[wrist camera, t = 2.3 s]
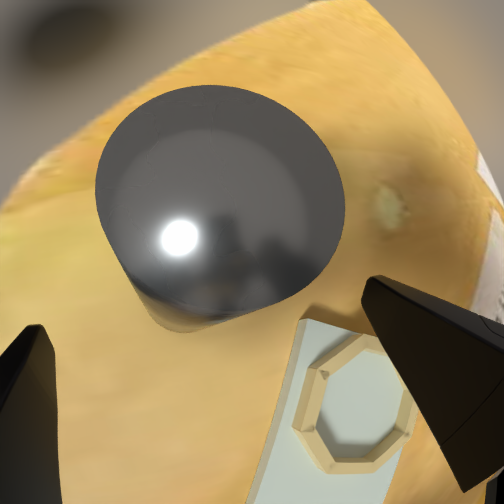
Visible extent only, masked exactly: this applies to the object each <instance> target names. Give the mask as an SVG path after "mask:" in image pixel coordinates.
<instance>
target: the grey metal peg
mask: <svg viewBox="0 0 504 504" xmlns="http://www.w3.org/2000/svg"><path fill="white" fill-rule="evenodd" d="M95 196H96V205H97V211H98V215H99V218H100V222H101V225H102V228H103V230H104V232H105V234H106V237H107V239H108V241H109V243H110V245H111V247H112V249H113V251H114V253H115V255H116V256H117V258H118V260H119V262H120V264H121V266H122V268H123V270H124V271H125V273H126V275H127V277H128V279H129V280H130V282H131V284H132V286H133V287H134V289H135V291H136V293H137V294H138V296H139V298H140V299H141V301H142V303H143V305H144V306H145V308H146V310H147V311H148V313H149V314H150V316H151V317H152V318H153V319H154V320H155V321H156V322H157V323H158V324H159V325H160V326H162V327H164V328H165V329H168V330H170V331H174V332H179V333H189V332H194V331H198V330H201V329H204V328H207V327H210V326H213V325H216V324H219V323H222V322H225V321H228V320H231V319H233V318H236V317H239V316H242V315H245V314H248V313H250V312H253V311H256V310H259V309H262V308H264V307H267V306H270V305H272V304H275V303H278V302H280V301H282V300H284V299H286V298H288V297H290V296H293V295H294V294H296V293H297V292H299V291H300V290H302V289H303V288H305V287H306V286H308V285H309V284H310V283H311V282H312V281H313V280H314V279H315V278H316V277H317V276H318V275H319V274H320V273H321V272H322V271H323V269H324V268H325V267H326V265H327V264H328V263H329V261H330V259H331V258H332V256H333V254H334V252H335V251H336V248H337V246H338V243H339V240H340V238H341V234H342V230H343V225H344V217H345V199H344V191H343V186H342V181H341V178H340V175H339V172H338V169H337V167H336V165H335V162H334V160H333V158H332V156H331V154H330V153H329V151H328V149H327V148H326V146H325V145H324V143H323V142H322V141H321V139H320V138H319V137H318V135H317V134H316V133H315V132H314V131H313V130H312V129H311V128H310V127H309V126H308V124H306V123H305V122H304V121H303V120H302V119H301V118H300V117H298V116H297V115H296V114H295V113H293V112H292V111H290V110H289V109H287V108H286V107H284V106H283V105H281V104H279V103H277V102H276V101H274V100H272V99H269V98H267V97H265V96H263V95H260V94H257V93H254V92H251V91H248V90H244V89H240V88H236V87H229V86H221V85H201V86H191V87H186V88H180V89H177V90H173V91H170V92H167V93H164V94H162V95H159V96H157V97H155V98H153V99H151V100H149V101H148V102H146V103H144V104H142V105H141V106H140V107H138V108H137V109H136V110H134V111H133V112H132V113H130V114H129V115H128V116H127V117H126V118H125V119H124V120H123V121H122V122H121V123H120V124H119V126H118V127H117V128H116V130H115V131H114V132H113V134H112V135H111V137H110V138H109V140H108V142H107V144H106V146H105V148H104V150H103V152H102V155H101V158H100V161H99V164H98V169H97V174H96V185H95Z"/></svg>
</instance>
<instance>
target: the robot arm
mask: <svg viewBox="0 0 504 504" xmlns="http://www.w3.org/2000/svg"><path fill="white" fill-rule="evenodd" d="M361 304H362V307H363V309H364V311H365V313H366V315H367V317H368V319H369V321H370V323H371V325H372V327H373V329H374V331H375V333H376V335H377V337H378V339H379V341H380V343H381V345H382V347H383V348H384V350H385V352H386V354H387V355H388V357H389V358H390V360H391V362H392V363H393V365H394V367H395V368H396V370H397V372H398V373H399V375H400V377H401V378H402V380H403V382H404V384H405V385H406V387H407V389H408V390H409V392H410V394H411V396H412V397H413V399H414V401H415V403H416V404H417V406H418V408H419V410H420V411H421V413H422V415H423V417H424V419H425V420H426V422H427V424H428V426H429V428H430V430H431V431H432V433H433V435H434V437H435V439H436V441H437V443H438V444H439V446H440V449H441V451H442V453H443V454H444V456H445V458H446V460H447V462H448V464H449V466H450V468H451V470H452V472H453V474H454V476H455V478H456V480H457V482H458V484H459V486H460V488H461V490H462V492H463V493H465V492H467V491H468V490H470V489H471V488H473V487H475V486H476V485H478V484H479V483H481V482H482V481H484V480H485V479H487V478H488V477H489V476H491V475H492V474H494V473H495V472H497V471H498V472H497V473H496V474H495V475H494V476H493V477H492V478H491V479H490V480H489V481H488V482H487V486H486V496H485V504H504V325H503V324H500V323H498V322H495V321H493V320H490V319H488V318H485V317H483V316H481V315H478V314H476V313H474V312H471V311H469V310H466V309H464V308H462V307H459V306H457V305H454V304H452V303H449V302H447V301H445V300H442V299H440V298H437V297H435V296H432V295H430V294H427V293H425V292H422V291H420V290H418V289H415V288H413V287H410V286H408V285H405V284H403V283H400V282H398V281H395V280H392V279H390V278H387V277H385V276H382V275H377V276H372V277H369V278H368V280H367V282H366V285H365V288H364V292H363V295H362V298H361ZM0 504H62V496H61V487H60V476H59V461H58V408H57V391H56V368H55V351H54V348H53V345H52V343H51V341H50V339H49V337H48V335H47V332H46V330H45V328H44V327H43V325H41V324H34V325H28V326H26V327H25V329H24V330H23V331H22V332H21V333H20V334H19V335H18V336H17V337H16V338H15V340H14V341H13V342H12V343H11V344H10V345H9V346H8V348H7V349H6V350H5V351H4V352H3V353H2V355H1V356H0Z"/></svg>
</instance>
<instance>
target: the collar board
mask: <svg viewBox="0 0 504 504" xmlns="http://www.w3.org/2000/svg"><path fill="white" fill-rule="evenodd" d="M418 410H419V408H418V406H417V404H416V403H415V401H414V399H413V397H412V396H411V394H410V392H409V390H408V389H407V387H406V385H405V384H404V382H403V380H402V378H401V377H400V375H399V373H398V372H397V370H396V368H395V367H394V365H393V363H392V362H391V360H390V358H389V357H388V355H387V354H386V352H385V350H384V348H383V347H382V345H381V343H380V341H379V339H378V337H375V336H371V335H367V334H360V333H357V332H353V331H350V330H346V329H343V328H339V327H336V326H332V325H329V324H325V323H322V322H319V321H315V320H312V319H309V318H307V319H302V320H299V323H298V327H297V331H296V335H295V339H294V343H293V347H292V351H291V355H290V359H289V363H288V366H287V370H286V374H285V378H284V381H283V385H282V389H281V392H280V396H279V399H278V403H277V406H276V410H275V413H274V417H273V420H272V424H271V427H270V430H269V433H268V437H267V440H266V443H265V446H264V450H263V453H262V456H261V459H260V462H259V465H258V468H257V471H256V474H255V477H254V480H253V483H252V486H251V489H250V492H249V495H248V498H247V501H246V504H382V503H383V501H384V498H385V496H386V493H387V491H388V488H389V486H390V483H391V480H392V478H393V475H394V472H395V469H396V466H397V463H398V460H399V457H400V454H401V451H402V448H403V445H404V444H405V443H406V442H407V441H408V440H409V439H410V438H411V437H412V433H413V430H414V426H415V422H416V419H417V415H418Z"/></svg>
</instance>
